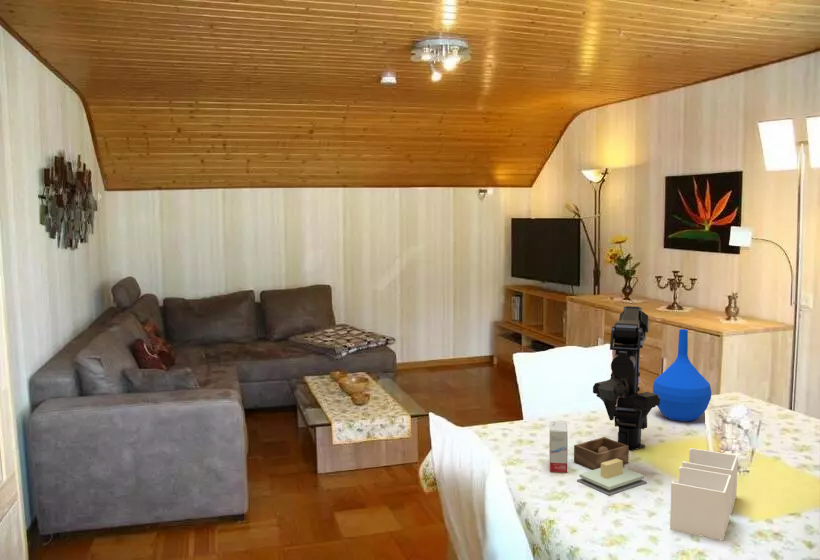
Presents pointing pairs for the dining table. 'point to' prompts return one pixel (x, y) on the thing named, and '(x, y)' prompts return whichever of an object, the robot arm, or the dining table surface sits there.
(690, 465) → the storage container
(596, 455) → the box
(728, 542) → the dining table surface
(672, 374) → the vase
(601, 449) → the cork ball
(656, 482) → the dining table surface
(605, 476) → the lid
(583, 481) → the mat
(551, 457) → the ink box
